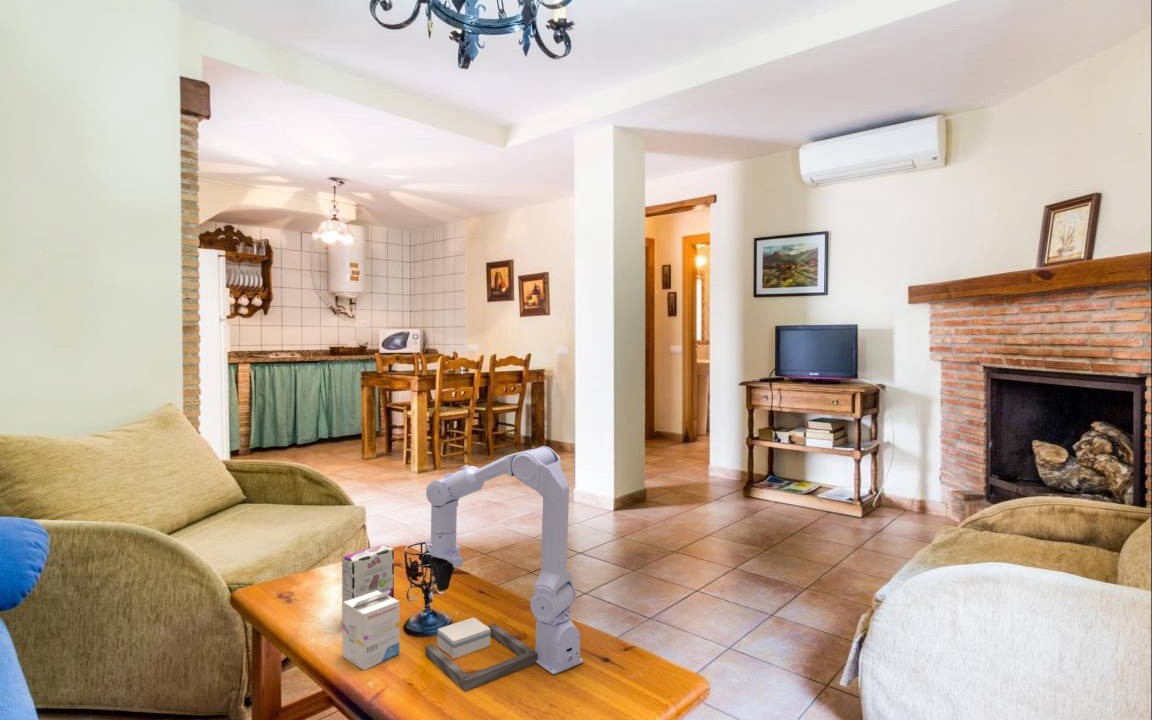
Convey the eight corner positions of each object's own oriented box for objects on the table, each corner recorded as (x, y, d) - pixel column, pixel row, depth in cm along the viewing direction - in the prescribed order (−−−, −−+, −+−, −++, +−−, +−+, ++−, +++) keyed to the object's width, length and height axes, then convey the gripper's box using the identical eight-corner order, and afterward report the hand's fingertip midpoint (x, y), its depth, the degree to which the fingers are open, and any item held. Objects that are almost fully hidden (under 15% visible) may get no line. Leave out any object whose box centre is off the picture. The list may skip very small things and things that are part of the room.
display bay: (537, 662, 126) (537, 653, 126) (464, 691, 115) (465, 680, 115) (494, 632, 139) (494, 623, 139) (425, 655, 128) (425, 645, 128)
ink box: (377, 641, 133) (378, 581, 133) (400, 654, 128) (401, 591, 128) (341, 657, 127) (341, 593, 126) (363, 671, 121) (364, 605, 121)
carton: (490, 646, 133) (490, 628, 132) (453, 660, 127) (453, 641, 126) (473, 634, 138) (473, 617, 138) (437, 646, 132) (437, 628, 132)
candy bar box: (382, 609, 149) (382, 543, 149) (394, 615, 146) (395, 548, 146) (340, 626, 140) (341, 555, 140) (352, 632, 137) (353, 560, 137)
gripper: (475, 535, 136) (474, 595, 137) (444, 520, 147) (443, 575, 148) (446, 541, 132) (445, 603, 132) (417, 525, 143) (416, 582, 143)
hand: (442, 589), depth 140 cm, fingers closed
